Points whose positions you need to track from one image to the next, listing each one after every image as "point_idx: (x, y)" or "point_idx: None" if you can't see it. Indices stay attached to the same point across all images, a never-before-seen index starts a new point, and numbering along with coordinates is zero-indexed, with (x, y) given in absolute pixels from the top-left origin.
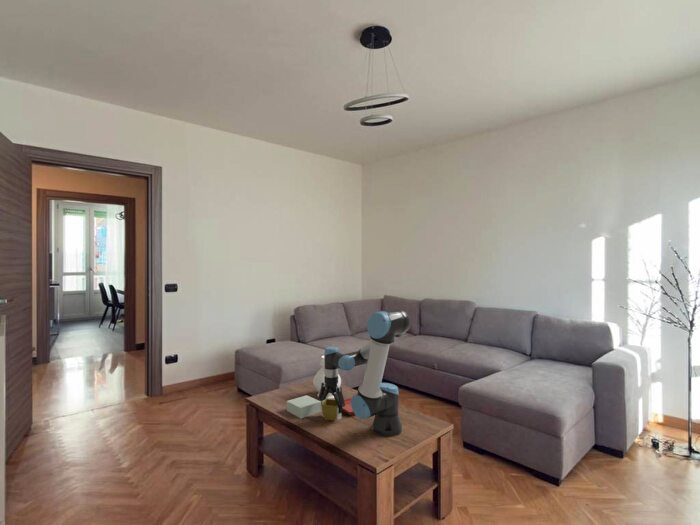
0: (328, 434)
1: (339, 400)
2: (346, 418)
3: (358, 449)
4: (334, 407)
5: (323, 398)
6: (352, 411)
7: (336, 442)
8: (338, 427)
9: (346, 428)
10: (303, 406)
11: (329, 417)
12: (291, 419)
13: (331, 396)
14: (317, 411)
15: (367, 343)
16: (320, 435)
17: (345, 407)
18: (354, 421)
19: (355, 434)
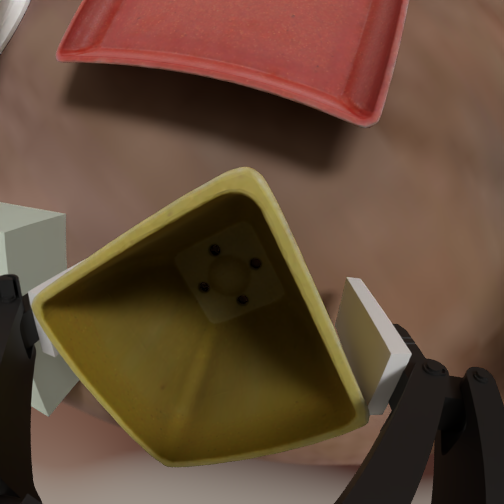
0: (370, 437)
1: (444, 493)
2: (348, 177)
3: None
4: (328, 423)
5: (28, 360)
6: (386, 95)
7: (433, 445)
8: None
9: (439, 332)
10: (33, 391)
11: (252, 342)
12: (74, 401)
13: (11, 14)
14: (59, 252)
15: None
16: (336, 459)
17: (177, 8)
18: (439, 191)
19: (497, 347)
